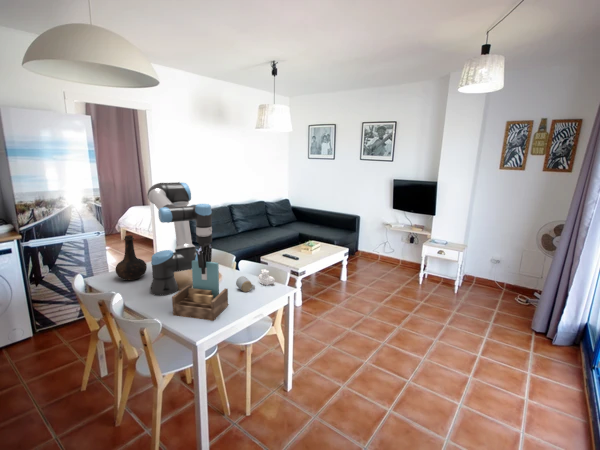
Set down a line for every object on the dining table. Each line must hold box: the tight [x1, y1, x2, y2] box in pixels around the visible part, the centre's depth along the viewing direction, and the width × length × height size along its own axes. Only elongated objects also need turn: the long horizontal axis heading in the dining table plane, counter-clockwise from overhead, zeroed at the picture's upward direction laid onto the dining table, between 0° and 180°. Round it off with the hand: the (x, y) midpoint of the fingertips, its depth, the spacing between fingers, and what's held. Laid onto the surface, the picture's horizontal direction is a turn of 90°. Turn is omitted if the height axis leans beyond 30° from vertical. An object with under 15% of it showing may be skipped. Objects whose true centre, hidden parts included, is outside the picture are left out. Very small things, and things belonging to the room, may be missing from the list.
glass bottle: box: [115, 235, 148, 281], centre depth 200 cm, size 18×18×28 cm
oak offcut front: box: [193, 293, 213, 305], centre depth 159 cm, size 10×2×9 cm, turn 79°
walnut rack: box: [171, 284, 230, 322], centre depth 161 cm, size 22×18×11 cm
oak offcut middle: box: [189, 287, 212, 299], centre depth 162 cm, size 12×2×10 cm, turn 79°
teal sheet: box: [191, 260, 220, 298], centre depth 164 cm, size 14×2×24 cm, turn 79°
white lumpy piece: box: [257, 268, 276, 286], centre depth 199 cm, size 12×8×11 cm
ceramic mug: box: [235, 275, 256, 293], centre depth 190 cm, size 11×8×8 cm
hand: (205, 278), depth 163 cm, fingers closed on teal sheet, 2 cm apart
